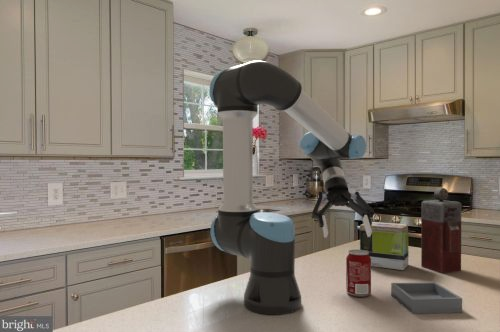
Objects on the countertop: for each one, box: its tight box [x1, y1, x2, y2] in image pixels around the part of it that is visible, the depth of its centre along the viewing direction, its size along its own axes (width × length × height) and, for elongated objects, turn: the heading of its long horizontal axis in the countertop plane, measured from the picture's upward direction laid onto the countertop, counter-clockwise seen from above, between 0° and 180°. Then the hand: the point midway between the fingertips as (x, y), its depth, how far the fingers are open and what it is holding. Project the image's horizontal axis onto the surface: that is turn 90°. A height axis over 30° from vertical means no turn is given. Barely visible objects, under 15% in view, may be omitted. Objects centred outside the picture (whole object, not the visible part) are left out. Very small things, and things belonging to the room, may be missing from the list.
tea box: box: [359, 221, 410, 271], centre depth 138 cm, size 15×10×15 cm, turn 58°
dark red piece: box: [420, 187, 462, 274], centre depth 131 cm, size 9×11×28 cm
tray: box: [390, 281, 463, 315], centre depth 101 cm, size 13×13×4 cm
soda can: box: [345, 249, 372, 298], centre depth 108 cm, size 7×7×12 cm
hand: (348, 234), depth 118 cm, fingers open, 13 cm apart
